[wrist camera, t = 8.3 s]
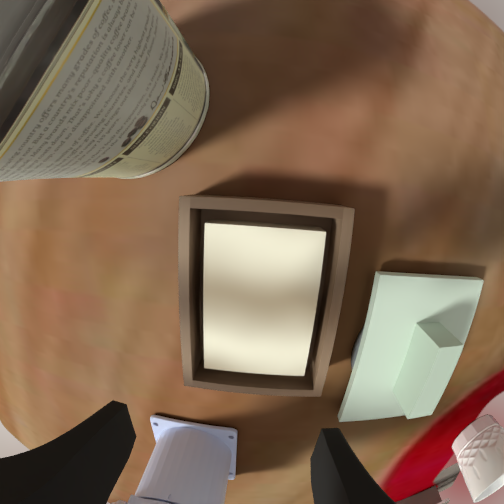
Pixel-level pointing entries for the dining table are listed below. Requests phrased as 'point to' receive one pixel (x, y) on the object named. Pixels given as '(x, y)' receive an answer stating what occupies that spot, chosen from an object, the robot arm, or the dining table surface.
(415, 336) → the lid
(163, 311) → the dining table surface
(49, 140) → the coffee can
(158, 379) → the dining table surface
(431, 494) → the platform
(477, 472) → the white cup
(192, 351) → the box
